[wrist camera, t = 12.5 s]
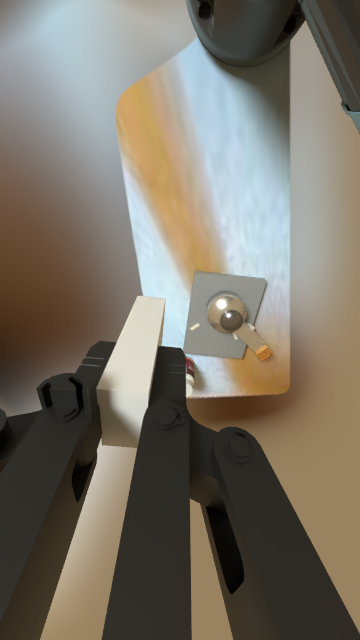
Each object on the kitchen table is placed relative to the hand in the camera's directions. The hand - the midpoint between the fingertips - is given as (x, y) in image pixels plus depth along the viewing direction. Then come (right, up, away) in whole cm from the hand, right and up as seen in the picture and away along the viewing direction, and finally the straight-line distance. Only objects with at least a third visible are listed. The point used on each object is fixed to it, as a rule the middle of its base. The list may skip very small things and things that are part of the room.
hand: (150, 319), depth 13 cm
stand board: (+10, +1, +33) cm, 35 cm away
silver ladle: (+13, -1, +32) cm, 35 cm away
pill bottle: (+2, -10, +40) cm, 41 cm away
